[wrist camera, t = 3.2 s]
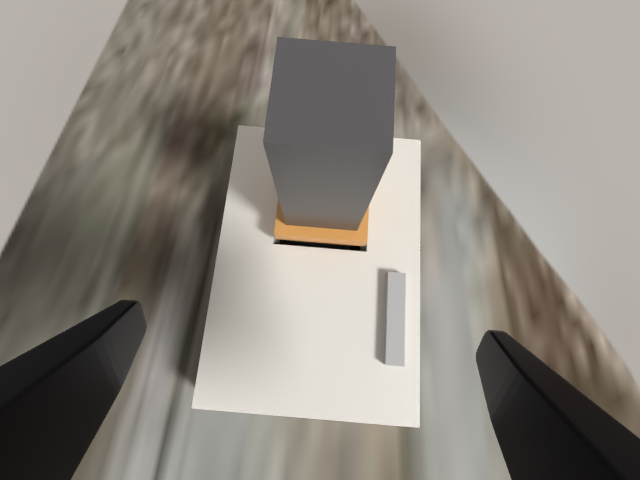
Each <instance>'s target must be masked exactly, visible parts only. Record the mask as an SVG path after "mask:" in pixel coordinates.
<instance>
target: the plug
mask: <svg viewBox="0 0 640 480" xmlns="http://www.w3.org/2000/svg"><path fill="white" fill-rule="evenodd" d="M395 61H396V47H392V46H381V45H369V44H356V43H344V42H332V41H320V40H308V39H295V38H283V37H278V38H277V45H276V52H275V59H274V66H273V74H272V81H271V88H270V95H269V102H268V109H267V116H266V123H265V130H264V137H263V145H264V149H265V152H266V156H267V159H268V163H269V166H270V170H271V174H272V177H273V181H274V184H275V188H276V192H277V195H278V204H277V213H276V221H275V229H274V236H275V238H276V239H282V240H290V242H291V244H293V245H305V246H317V247H329V248H341V249H349V248H350V245H354V246H365V245H366V244H367V240H368V218H369V204H370V202H371V200H372V198H373V195H374V193H375V191H376V189H377V187H378V185H379V182H380V180H381V178H382V176H383V174H384V172H385V169H386V167H387V165H388V163H389V161H390V159H391V156H392V154H393V135H394V98H395Z"/></svg>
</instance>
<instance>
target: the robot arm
mask: <svg viewBox="0 0 640 480" xmlns="http://www.w3.org/2000/svg"><path fill="white" fill-rule="evenodd" d="M145 332H146V320H145V317H144V313H143V309H142V306H141V304H140V302H139V301H134V300H121V301H119V302H117V303H115V304H113V305H111V306H110V307H108V308H106V309H104V310H102V311H100V312H99V313H97V314H95V315H93V316H91V317H90V318H88V319H86V320H84V321H82V322H80V323H79V324H77V325H75V326H73V327H71V328H69V329H68V330H66V331H64V332H62V333H60V334H58V335H57V336H55V337H53V338H51V339H49V340H47V341H46V342H44V343H42V344H40V345H38V346H37V347H35V348H33V349H31V350H29V351H27V352H26V353H24V354H22V355H20V356H18V357H16V358H15V359H13V360H11V361H9V362H7V363H5V364H4V365H2V366H0V480H71V478H72V476H73V475H74V473H75V471H76V469H77V467H78V466H79V464H80V462H81V460H82V458H83V457H84V455H85V453H86V451H87V449H88V448H89V446H90V444H91V442H92V440H93V439H94V437H95V435H96V433H97V431H98V430H99V428H100V426H101V424H102V422H103V421H104V419H105V417H106V415H107V413H108V412H109V410H110V408H111V406H112V404H113V403H114V401H115V399H116V397H117V395H118V393H119V392H120V390H121V388H122V385H123V383H124V381H125V379H126V377H127V374H128V372H129V370H130V367H131V365H132V363H133V360H134V358H135V356H136V353H137V351H138V349H139V346H140V344H141V342H142V339H143V337H144V335H145ZM476 362H477V366H478V370H479V374H480V378H481V383H482V387H483V391H484V395H485V399H486V403H487V408H488V411H489V415H490V419H491V422H492V425H493V428H494V431H495V434H496V437H497V439H498V442H499V445H500V448H501V451H502V454H503V457H504V459H505V462H506V465H507V468H508V471H509V474H510V476H511V479H512V480H640V438H639V437H637V436H636V435H635V434H634V433H632V432H631V431H630V430H629V429H627V428H626V427H625V426H623V425H622V424H621V423H620V422H618V421H617V420H616V419H615V418H613V417H612V416H611V415H610V414H608V413H607V412H606V411H605V410H603V409H602V408H601V407H599V406H598V405H597V404H596V403H594V402H593V401H592V400H591V399H589V398H588V397H587V396H586V395H584V394H583V393H582V392H580V391H579V390H578V389H577V388H575V387H574V386H573V385H572V384H570V383H569V382H568V381H567V380H565V379H564V378H563V377H562V376H560V375H559V374H558V373H556V372H555V371H554V370H553V369H551V368H550V367H549V366H548V365H546V364H545V363H544V362H543V361H541V360H540V359H539V358H537V357H536V356H535V355H534V354H532V353H531V352H530V351H529V350H527V349H526V348H525V347H524V346H522V345H521V344H520V343H519V342H517V341H516V340H515V339H513V338H512V337H511V336H510V335H508V334H507V333H506V332H503V331H496V330H488V331H486V332H485V334H484V336H483V338H482V340H481V342H480V345H479V347H478V349H477V352H476Z"/></svg>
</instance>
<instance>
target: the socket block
mask: <svg viewBox="0 0 640 480" xmlns="http://www.w3.org/2000/svg"><path fill="white" fill-rule="evenodd" d="M264 130H265V127H255V126H242V125H238V131H237V137H236V143H235V149H234V155H233V161H232V167H231V173H230V179H229V185H228V191H227V197H226V203H225V209H224V215H223V222H222V228H221V234H220V240H219V246H218V252H217V258H216V264H215V270H214V276H213V282H212V288H211V294H210V300H209V306H208V312H207V318H206V324H205V330H204V336H203V342H202V348H201V354H200V361H199V367H198V373H197V379H196V385H195V391H194V397H193V403H192V408H193V409H205V410H217V411H229V412H241V413H252V414H264V415H276V416H288V417H300V418H311V419H323V420H335V421H347V422H359V423H370V424H382V425H394V426H406V427H418V428H420V140H412V139H400V138H393V154H392V156H391V159H390V161H389V163H388V165H387V167H386V169H385V172H384V174H383V176H382V178H381V180H380V182H379V185H378V187H377V189H376V191H375V193H374V195H373V198H372V200H371V202H370V204H369V218H368V240H367V244H366V245H365V246H360V251H352V250H340V249H328V248H316V247H304V246H292V245H280V239H276V238H275V236H274V229H275V221H276V213H277V204H278V195H277V192H276V188H275V184H274V181H273V177H272V174H271V170H270V166H269V163H268V159H267V156H266V152H265V149H264V145H263V137H264Z"/></svg>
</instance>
